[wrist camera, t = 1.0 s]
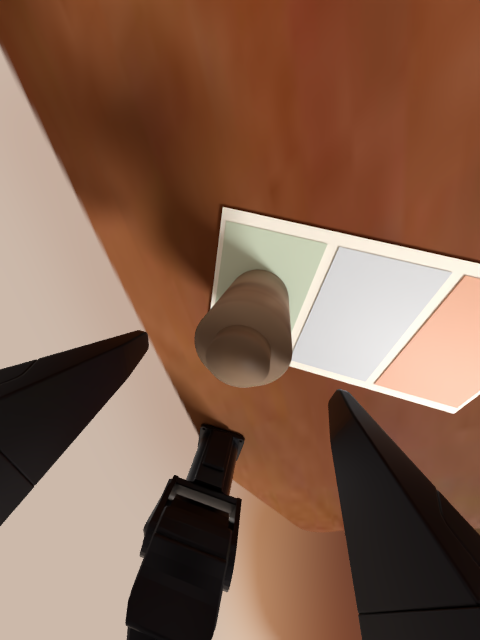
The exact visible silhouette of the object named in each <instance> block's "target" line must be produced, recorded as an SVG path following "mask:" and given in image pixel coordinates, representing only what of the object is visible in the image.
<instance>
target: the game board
mask: <svg viewBox="0 0 480 640" xmlns="http://www.w3.org/2000/svg"><path fill="white" fill-rule="evenodd" d="M256 269H259V270H266V271H269V272H271V273H273V274H275V275H277V276H278V277H279V278H280V279H281V280H282V281H283V283H284V284H285V286H286V288H287V291H288V295H289V309H290V323H291V337H292V360H291V363H290V365H289V366H291V367H295V368H298V369H302V370H305V371H308V372H312V373H315V374H319V375H322V376H326V377H329V378H333V379H336V380H339V381H343V382H346V383H350V384H353V385H357V386H360V387H364V388H367V389H370V390H374V391H377V392H381V393H384V394H388V395H391V396H395V397H398V398H401V399H405V400H408V401H412V402H415V403H419V404H422V405H426V406H429V407H432V408H436V409H439V410H443V411H446V412H450V413H453V414H454V413H455V412H457V411H458V410H459V409H461V408H462V407H463V406H465V405H466V404H467V403H469V402H470V401H471V400H473V399H474V398H475V397H477V396H478V395H479V394H480V264H478V263H474V262H469V261H465V260H460V259H456V258H451V257H447V256H442V255H438V254H433V253H429V252H424V251H420V250H415V249H411V248H406V247H402V246H397V245H393V244H388V243H384V242H379V241H375V240H370V239H366V238H361V237H357V236H352V235H348V234H343V233H339V232H334V231H330V230H325V229H321V228H316V227H312V226H307V225H303V224H298V223H294V222H289V221H285V220H280V219H276V218H271V217H267V216H262V215H258V214H253V213H249V212H244V211H240V210H235V209H231V208H226V207H223V209H222V218H221V226H220V234H219V242H218V251H217V259H216V267H215V275H214V284H213V292H212V300H211V308H212V307H213V306H214V304H215V303H216V302H217V301H218V300H219V298H220V297H221V296H222V295H223V294H224V292H225V291H226V290H227V289H228V288H229V286H230V285H231V284H232V283H233V282H234V281H235V279H236V278H237V277H238V276H240V275H241V274H243V273H245V272H247V271H250V270H256ZM211 308H210V309H211Z"/></svg>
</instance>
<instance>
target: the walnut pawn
mask: <svg viewBox="0 0 480 640" xmlns="http://www.w3.org/2000/svg"><path fill="white" fill-rule="evenodd" d="M195 348H196V351H197V354H198V356H199V358H200V360H201V361H202V363H203V364H204V365H205V366H206V367H207V368H208V370H210V371H211V373H212V374H213V375H214V376H215V377H216V378H217V379H219V380H220V381H222V382H224V383H226V384H228V385H231V386H234V387H241V388H247V387H253V386H261V385H265V384H268V383H271V382H273V381H275V380H277V379H278V378H279V377H281V376H282V375H283V374H284V373H285V372H286V370H287V369H288V367H289V365H290V363H291V360H292V337H291V323H290V309H289V295H288V291H287V288H286V286H285V284H284V283H283V281H282V280H281V279H280V278H279V277H278V276H277V275H275V274H273V273H271V272H269V271H266V270H259V269H256V270H250V271H247V272H245V273H243V274H241V275H240V276H238V277H237V278H236V279H235V281H234V282H233V283H232V284H231V285H230V286H229V288H228V289H227V290H226V291H225V292H224V294H223V295H222V296H221V297H220V298H219V300H218V301H217V302H216V303H215V304H214V306H213V307H212V308H211V309H210V310H209V312H208V313H207V314H206V315H205V316H204V318H203V319H202V320H201V321H200V323H199V325H198V326H197V329H196V332H195Z"/></svg>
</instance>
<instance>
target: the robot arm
mask: <svg viewBox="0 0 480 640" xmlns="http://www.w3.org/2000/svg"><path fill="white" fill-rule="evenodd" d="M148 347H149V342H148V334H147V333H146V332H144V331H140V330H137V331H134V332H130V333H127V334H123V335H120V336H116V337H113V338H109V339H106V340H102V341H99V342H95V343H92V344H89V345H85V346H81V347H78V348H74V349H71V350H67V351H64V352H61V353H57V354H53V355H50V356H46V357H43V358H39V359H38V360H32V361H29V362H25V363H22V364H19V365H15V366H12V367H7V368H4V369H0V526H1V525H2V524H3V522H4V521H5V520H6V519H7V518H8V517H9V515H10V514H11V513H12V512H13V511H14V510H15V508H16V507H17V506H18V505H19V504H20V503H21V501H22V500H23V499H24V498H25V497H26V496H27V495H28V493H29V492H30V491H31V490H32V489H33V488H34V485H36V484H37V483H38V481H39V480H40V479H41V478H42V477H43V476H44V475H45V473H46V472H47V471H48V470H49V469H50V468H51V467H52V465H53V464H54V463H55V462H56V461H57V459H58V458H59V457H60V456H61V455H62V454H63V453H64V451H65V450H66V449H67V448H68V447H69V445H70V444H71V443H72V442H73V441H74V440H75V439H76V438H77V436H78V435H79V434H80V433H81V432H82V430H83V429H84V428H85V427H86V426H87V425H88V424H89V422H90V421H91V420H92V419H93V418H94V417H95V415H96V414H97V413H98V412H99V411H100V410H101V409H102V407H103V406H104V405H105V404H106V403H107V402H108V400H109V399H110V398H111V397H112V396H113V395H114V393H115V392H116V391H117V390H118V389H119V388H120V386H121V385H122V384H123V383H124V382H125V381H126V379H127V378H128V377H129V376H130V374H131V373H132V372H133V370H134V369H135V367H136V366H137V364H138V363H139V362H140V360H141V359H142V357H143V356H144V354H145V353H146V352H147V350H148ZM328 410H329V428H330V442H331V449H332V455H333V461H334V467H335V474H336V480H337V486H338V492H339V498H340V504H341V511H342V517H343V523H344V529H345V535H346V541H347V547H348V554H349V560H350V566H351V572H352V578H353V585H354V590H355V596H356V603H357V608H358V613H359V615H358V616H359V623H360V629H361V635H362V640H480V535H479V534H478V533H477V532H476V531H475V530H474V529H473V527H472V526H471V525H470V524H469V523H468V522H467V521H466V520H465V519H464V518H463V517H462V516H461V515H460V513H459V512H458V511H457V510H456V509H455V508H454V507H453V506H452V505H451V504H450V503H449V502H448V500H447V499H446V498H445V497H444V496H443V495H442V494H441V493H440V492H439V491H438V490H436V487H435V486H434V485H433V484H432V483H431V482H430V481H429V480H428V479H427V477H426V476H425V475H424V474H423V473H422V472H421V471H420V470H419V469H418V468H417V466H416V465H415V464H414V463H413V462H412V461H411V460H410V459H409V458H408V457H407V456H406V454H405V453H404V452H403V451H402V450H401V449H400V448H399V447H398V446H397V445H396V443H395V442H394V441H393V440H392V439H391V438H390V437H389V436H388V435H387V434H386V432H385V431H384V430H383V429H382V428H381V427H380V426H379V425H378V424H377V423H376V421H375V420H374V419H373V418H372V417H371V416H370V415H369V414H368V413H367V412H366V411H365V409H364V408H363V407H362V406H361V405H360V404H359V403H358V402H357V401H356V400H355V398H354V397H353V396H352V395H351V394H350V393H349V392H347V391H344V390H341V389H338V390H336V392H335V393H334V394H333V396H332V397H331V399H330V400H329V403H328ZM244 440H245V438H244V437H242V436H239V435H236V434H233V433H230V432H227V431H224V430H221V429H218V428H215V427H212V426H209V425H206V424H202V425H201V428H200V435H199V442H198V449H197V452H196V455H195V457H194V460H193V463H192V465H191V468H190V471H189V473H188V476H187V479H186V480H184V479H182V478H179V477H178V476H176V475H174V476H173V479H169V481H168V483H167V485H166V488H165V490H164V492H163V494H162V496H161V498H160V500H159V501H158V503H157V505H156V507H155V509H154V510H153V512H152V514H151V515H150V517H149V519H148V520H147V522H146V524H145V526H144V530H143V531H144V540H143V545H142V548H141V552H140V557H143V558H144V559H143V561H142V564H141V566H140V569H139V572H138V574H137V577H136V580H135V582H134V585H133V587H132V590H131V594H130V597H129V600H128V607H127V614H126V626H128V631H127V640H211V639H212V637H213V633H214V630H215V627H216V623H217V617H218V612H219V607H220V601H221V596H222V591H226V592H228V590H229V587H230V583H231V579H232V574H233V569H234V562H235V556H236V548H237V539H238V529H239V520H240V510H241V501H242V499H240V498H234V497H232V496H229V494H230V488H231V483H232V478H233V473H234V468H235V463H236V461H237V459H238V457H239V454H240V452H241V449H242V447H243V444H244Z"/></svg>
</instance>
